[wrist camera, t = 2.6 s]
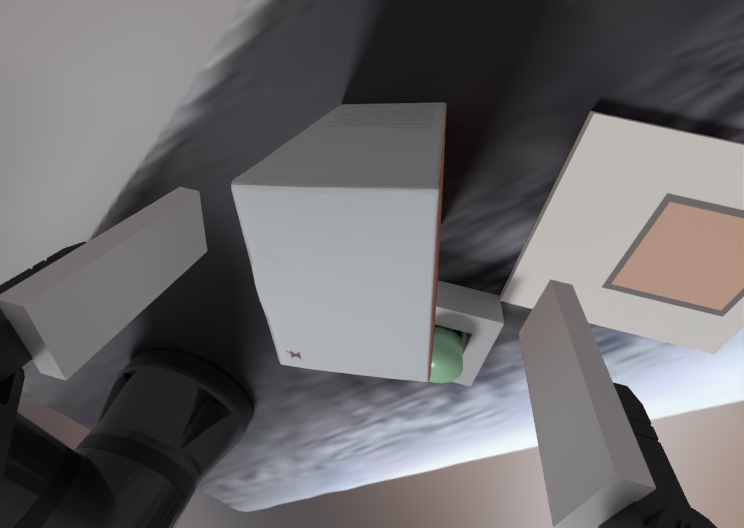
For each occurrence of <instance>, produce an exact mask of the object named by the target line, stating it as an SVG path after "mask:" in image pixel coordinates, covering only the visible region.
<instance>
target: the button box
mask: <svg viewBox="0 0 744 528" xmlns="http://www.w3.org/2000/svg"><path fill="white" fill-rule="evenodd" d="M435 324H436V325H439V326H443V327H447V328H451V329H455V330H459V331H460V333H459V336H460V337H461V339H462V343H463V372H462V374H461V375H460V377H459V378H457V379H456V380H454V381H451V382H455V383H459V384H463V385H466V386H470V387H471V385H472V383H473V381H474V379H475V377H476V375H477V374H478V372H479V370H480V368H481V366H482V364H483V362H484V360H485V359H486V357H487V355H488V353H489V351H490V349H491V347H492V345H493V344H494V342H495V340H496V338H497V336H498V334H499V332H500V330H501V329H502V327H503V325H504V320H503V314H502V307H501V301H500V296H499V295H495V294H491V293H487V292H483V291H479V290H475V289H471V288H467V287H463V286H459V285H455V284H450V283H446V282H442V281H438V284H437V300H436V315H435Z"/></svg>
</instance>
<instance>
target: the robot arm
mask: <svg viewBox="0 0 744 528" xmlns="http://www.w3.org/2000/svg"><path fill="white" fill-rule="evenodd" d="M206 252H207V245H206V237H205V230H204V223H203V215H202V208H201V201H200V194H199V191H196V190H192V189H188V188H184V187H179V188H177V189H175V190H174V191H172V192H170V193H169V194H167V195H165V196H164V197H162V198H160V199H159V200H157V201H155V202H154V203H152V204H150V205H149V206H147V207H145V208H144V209H142V210H140V211H139V212H137V213H135V214H134V215H132V216H130V217H129V218H127V219H125V220H124V221H122V222H120V223H119V224H117V225H115V226H114V227H112V228H110V229H109V230H107V231H105V232H104V233H102V234H100V235H99V236H97V237H95V238H94V239H92V240H90V241H89V242H82V243H79V244H76V245H73V246H70V247H67V248H64V249H62V250H60V251H59V252H57V253H55V254H54V255H52V256H50V257H48V258H47V260H46V261H44V260H43V261H41V262H40V263H38V264H36V265H34V266H33V268H32V269H28V270H26V271H24V272H22V273H21V274H19V275H17V276H16V277H14V278H12V279H10V280H9V281H7V282H5V283H4V284H2V285H0V528H175V526H176V524H177V523H178V521H179V519H180V517H181V515H182V514H183V512H184V510H185V508H186V506H187V504H188V502H189V501H190V499H191V497H192V495H193V494H194V492H195V490H196V488H197V487H198V485H199V484H200V482H201V481H202V480H203V479H204V478H205V477H206V475H207V474H208V473H209V472H210V471H211V470H212V469H213V468H214V467H215V466H216V465H217V464H218V463H219V462H220V461H221V460H222V459H223V458H224V457H225V456H226V454H227V453H228V452H229V451H230V450H231V449H232V448H233V447H234V446H235V445H236V444H237V443H238V442H239V441H240V439H241V438H242V437H243V435H244V433H245V431H246V429H247V427H248V425H249V423H250V421H251V419H252V407H251V404H250V401H249V399H248V398H247V396H246V394H245V393H244V392H243V390H242V389H241V388H240V387H239V386H238V385H237V384H236V383H235V382H234V381H233V380H232V379H231V378H230V377H228V376H227V375H226V374H225V373H223V372H222V371H220V370H219V369H217V368H216V367H214V366H212V365H210V364H209V363H207V362H205V361H203V360H200V359H198V358H196V357H193V356H190V355H188V354H184V353H181V352H177V351H171V350H161V349H157V350H148V351H145V352H142V353H140V354H138V355H137V356H136V357H135V358H134V359H133V360H132V361H131V362H130V363H129V364H128V365H127V366H126V367H125V368H124V369H123V370H122V372H121V373H120V374H119V376H118V378H117V380H116V382H115V384H114V386H113V388H112V390H111V392H110V394H109V396H108V398H107V400H106V402H105V405H104V407H103V409H102V411H101V413H100V415H99V417H98V419H97V421H96V423H95V425H94V427H93V429H92V430H91V432H90V433H89V434H88V435H87V436H86V438H85V439H84V440H83V441H82V442H81V443H80V444H79V445H78V446H77V448H76V449H75V450H74V451H73V450H72V449H70V448H69V447H67V446H66V445H65V444H64V443H62V442H61V441H59V440H58V439H56V438H55V437H53V436H52V435H50V434H49V433H47V432H46V431H44V430H43V429H41V428H40V427H38V426H37V425H35V424H34V423H33V422H31V421H30V420H28V419H27V418H25V417H24V416H22V415H21V414H19V413H18V412H17V410H18V405H19V401H20V396H21V392H22V387H23V382H24V378H25V377H24V370H23V369H22V367H23V366H24V365H25V364H26V363H28V362H29V361H30V360H31V359H32V360H33V361H34V363H35V365H36V366H37V368H38V369H39V371H40V373H42V374H46V375H49V376H52V377H56V378H59V379H62V380H67V379H69V378H70V377H71V376H72V375H73V374H74V373H75V372H76V371H77V370H78V369H79V368H81V367H82V366H83V365H84V364H85V363H86V362H87V361H88V360H89V359H90V358H91V357H93V356H94V355H95V354H96V353H97V352H98V351H99V350H100V349H101V348H102V347H103V346H105V345H106V344H107V343H108V342H109V341H110V340H111V339H112V338H113V337H114V336H115V335H117V334H118V333H119V332H120V331H121V330H122V329H123V328H124V327H125V326H126V325H127V324H129V323H130V322H131V321H132V320H133V319H134V318H135V317H136V316H137V315H138V314H139V313H141V312H142V311H143V310H144V309H145V308H146V307H147V306H148V305H149V304H150V303H151V302H153V301H154V300H155V299H156V298H157V297H158V296H159V295H160V294H161V293H162V292H163V291H165V290H166V289H167V288H168V287H169V286H170V285H171V284H172V283H173V282H174V281H175V280H177V279H178V278H179V277H180V276H181V275H182V274H183V273H184V272H185V271H186V270H187V269H189V268H190V267H191V266H192V265H193V264H194V263H195V262H196V261H197V260H198V259H199V258H201V257H202V256H203V255H204V254H205V253H206ZM519 338H520V344H521V349H522V355H523V361H524V366H525V372H526V377H527V383H528V389H529V394H530V400H531V406H532V411H533V417H534V422H535V428H536V434H537V439H538V445H539V450H540V456H541V462H542V467H543V473H544V479H545V484H546V490H547V495H548V501H549V507H550V512H551V517H552V523H553V527H554V528H717V527H716V526H715V525H714V524H713V523H712V522H711V521H710V520H709V519H708V518H706V517H705V516H703V515H702V514H700V513H699V512H697V511H696V510H694V509H693V508H691V507H690V505H689V503H688V501H687V499H686V497H685V495H684V492H683V490H682V488H681V486H680V484H679V482H678V480H677V478H676V475H675V473H674V471H673V469H672V467H671V465H670V462H669V460H668V458H667V456H666V454H665V452H664V449H663V448H662V445H661V443H659V442H658V437H657V435H656V432H655V430H654V428H653V427H651V422H650V419H649V417H648V415H647V413H646V411H645V409H644V407H643V404H642V403H641V402H640V401H639V400H638V398H637V397H636V396H635V395H634V394H633V392H632V391H631V390H630V389H629V388H628V386H624V385H621V384H617V383H613V382H612V380H611V377H610V375H609V372H608V370H607V367H606V365H605V363H604V360H603V358H602V355H601V353H600V350H599V348H598V346H597V343H596V341H595V338H594V336H593V333H592V331H591V329H590V326H589V324H588V321H587V319H586V316H585V314H584V312H583V309H582V307H581V304H580V302H579V299H578V297H577V295H576V292H575V290H574V287H573V285H571V284H567V283H563V282H559V281H555V280H551V279H550V281H549V282H548V284H547V286H546V288H545V289H544V291H543V293H542V294H541V296H540V298H539V299H538V301H537V303H536V305H535V306H534V308H533V310H532V311H531V313H530V315H529V316H528V318H527V320H526V321H525V323H524V325H523V327H522V328H521V330H520V332H519Z"/></svg>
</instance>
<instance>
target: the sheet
mask: <svg viewBox="0 0 744 528" xmlns="http://www.w3.org/2000/svg"><path fill="white" fill-rule="evenodd" d="M550 279H551V280H555V281H559V282H563V283H567V284H571V285H573V287H574V290H575V292H576V295H577V297H578V299H579V302H580V304H581V307H582V309H583V312H584V314H585V316H586V319H587V321H588V323H591V324H595V325H599V326H603V327H607V328H611V329H615V330H619V331H623V332H627V333H631V334H635V335H639V336H643V337H647V338H651V339H655V340H659V341H663V342H667V343H671V344H675V345H679V346H683V347H687V348H691V349H695V350H699V351H703V352H707V353H711V354H715V353H716V352H717V351H718V350H719V349H720V348H721V347H722V346H723V345H724V344H726V343H727V342H728V341H729V340H730V339H731V338H732V337H733V336H734V335H735V334H736V333H738V332H739V331H740V330H741V329H742V328H743V327H744V143H740V142H735V141H730V140H726V139H721V138H716V137H712V136H707V135H702V134H698V133H693V132H688V131H683V130H679V129H674V128H669V127H665V126H660V125H655V124H651V123H646V122H641V121H636V120H632V119H627V118H622V117H618V116H613V115H608V114H603V113H599V112H594V111H590V113H589V115H588V117H587V119H586V121H585V123H584V125H583V127H582V129H581V131H580V133H579V135H578V137H577V139H576V141H575V144H574V146H573V148H572V150H571V152H570V154H569V156H568V158H567V160H566V162H565V164H564V166H563V168H562V170H561V172H560V174H559V176H558V178H557V180H556V182H555V184H554V186H553V188H552V190H551V192H550V194H549V196H548V198H547V200H546V202H545V204H544V206H543V209H542V211H541V213H540V215H539V217H538V219H537V221H536V223H535V225H534V227H533V229H532V231H531V233H530V235H529V237H528V239H527V241H526V243H525V245H524V247H523V249H522V251H521V253H520V255H519V257H518V259H517V261H516V263H515V265H514V267H513V269H512V272H511V274H510V276H509V278H508V280H507V282H506V284H505V286H504V288H503V290H502V292H501V294H500V301H503V302H507V303H511V304H515V305H519V306H523V307H527V308H531V309H533V308H534V306H535V305H536V303H537V301H538V299H539V298H540V296H541V294H542V293H543V291H544V289H545V288H546V286H547V284H548V282H549V281H550Z"/></svg>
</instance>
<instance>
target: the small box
mask: <svg viewBox="0 0 744 528" xmlns="http://www.w3.org/2000/svg"><path fill="white" fill-rule="evenodd" d="M446 111H447V104H446V103H444V102H443V103H393V104H343V105H340V106H338V107H337V108H335V109H334V110H332V111H331V112H329V113H328V114H327V115H325V116H324V117H322V118H321V119H319V120H318V121H317V122H315V123H314V124H312V125H311V126H310V127H308V128H307V129H306V130H304V131H303V132H301V133H300V134H299V135H297V136H296V137H294V138H293V139H291V140H290V141H288V142H287V143H286V144H284V145H283V146H281V147H280V148H279V149H277V150H276V151H274V152H273V153H272V154H270V155H269V156H268V157H266V158H265V159H263V160H262V161H260V162H259V163H257V164H256V165H254V166H253V167H252V168H250V169H249V170H247V171H246V172H244V173H243V174H241V175H240V176H238V177H237V178H235V179H234V180H233V181H232V183H231V190H232V194H233V197H234V201H235V206H236V210H237V213H238V217H239V220H240V224H241V228H242V232H243V236H244V240H245V243H246V247H247V250H248V254H249V258H250V262H251V266H252V271H253V276H254V281H255V286H256V289H257V293H258V296H259V299H260V302H261V304H262V307H263V310H264V312H265V315H266V318H267V321H268V324H269V328H270V331H271V334H272V338H273V341H274V344H275V347H276V351H277V354H278V358H279V361H280V364H282V365H289V366H295V367H301V368H308V369H315V370H323V371H331V372H340V373H348V374H356V375H366V376H376V377H384V378H392V379H402V380H414V381H422V382H428V381H429V380H430V375H431V364H432V353H433V342H434V329H435V315H436V300H437V284H438V268H439V246H440V226H441V207H442V188H443V168H444V146H445V126H446Z"/></svg>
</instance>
